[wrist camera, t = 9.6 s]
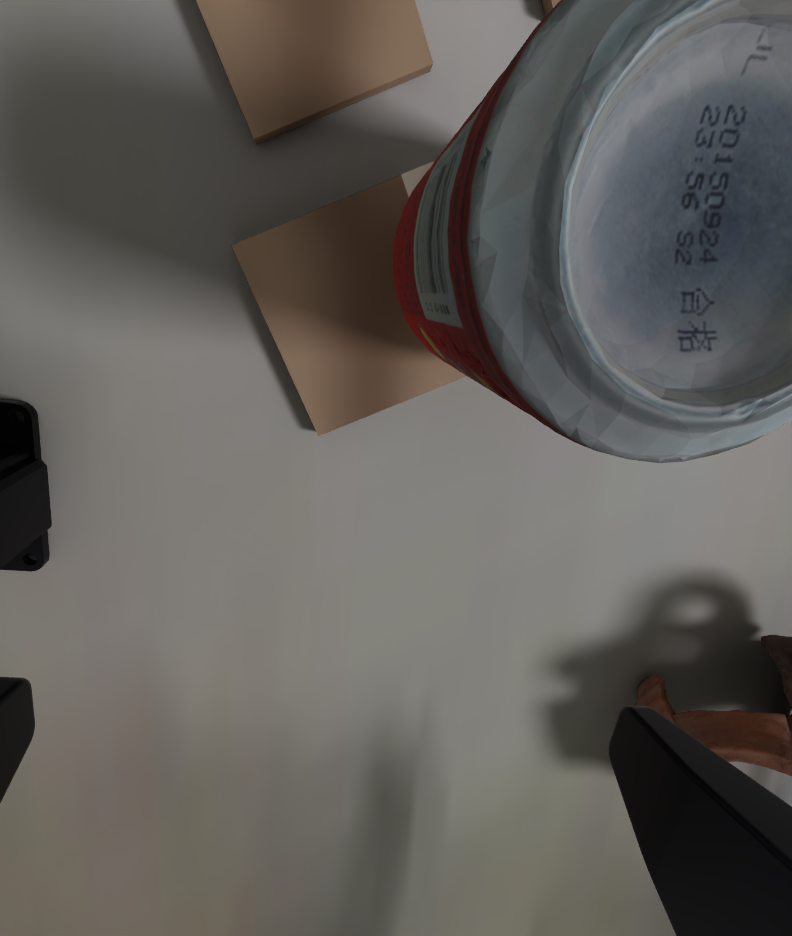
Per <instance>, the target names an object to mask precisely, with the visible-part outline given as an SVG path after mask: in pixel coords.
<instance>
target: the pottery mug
mask: <svg viewBox="0 0 792 936" xmlns="http://www.w3.org/2000/svg"><path fill="white" fill-rule="evenodd" d="M761 645H762V646H763V647H764V648H765V649H766V651H767V652H768V653H769V654H770V655H771V657H772V659H773V661H774V662H775V664H776V665H777V667H778V670H779V672H780V674H781V676H782V678H783V689H784V693H785V695H786V697H787V699H788V701H789V704H790V706H791V708H792V637H785V636H779V635H768V636H763V637H762V638H761ZM636 706H647V707H650V708H652V709H654V710H655V711H657V712H658V713H659V714H661V715H662V716H664V717H665V718H666V719H668V720H669V721H671V722H672V723H674V724H675V725H676V726H678V727H679V728H681V729H682V730H683V731H685V732H686V733H688V734H689V735H691V736H692V737H693V738H695V739H696V740H698V741H699V742H701V743H702V744H703V745H705V746H706V747H708V748H709V749H710V750H712V751H713V752H715V753H716V754H718V755H719V756H720V757H722V758H723V759H725V760H726V761H727V762H732V761H739V762H745V763H750V764H755V765H759V766H763V767H767V768H770V769H773V770H776V771H778V772H781V773H785V774H787V775H790V776H792V714H791V715H790V716H789V717H787V718H786V716H785V715H784V714H780V713H765V712H750V711H742V710H732V711H705V710H699V711H687V712H682V713H675V711H674V710H673V708H672V706H671V704H670V703H669V701H668V698H667V695H666V689H665V682H664V679H663V678H662V677H660V676H659V675H657V674H653V675H652V676H650V677H649V678H647V679H646V680H645V681H644V682H642V684H641V685H640V686H639V687H638V700H637V702H636Z"/></svg>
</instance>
